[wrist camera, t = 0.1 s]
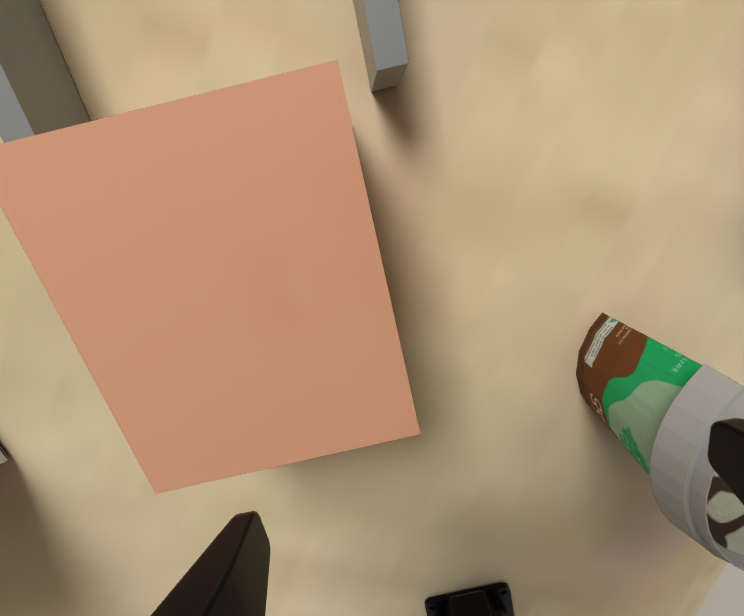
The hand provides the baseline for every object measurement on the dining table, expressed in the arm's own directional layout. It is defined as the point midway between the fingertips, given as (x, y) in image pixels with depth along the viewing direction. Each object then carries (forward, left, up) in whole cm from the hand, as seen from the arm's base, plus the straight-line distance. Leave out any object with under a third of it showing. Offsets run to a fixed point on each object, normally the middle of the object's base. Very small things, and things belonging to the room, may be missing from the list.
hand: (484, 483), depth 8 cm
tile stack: (+3, +6, -15) cm, 16 cm away
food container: (-10, -12, -15) cm, 22 cm away
